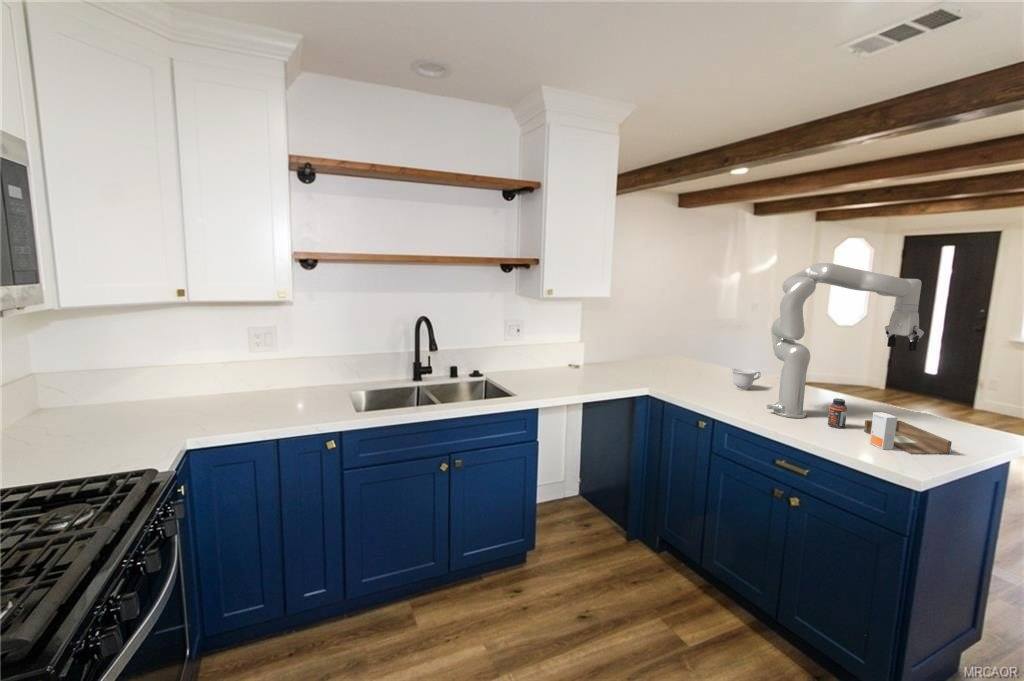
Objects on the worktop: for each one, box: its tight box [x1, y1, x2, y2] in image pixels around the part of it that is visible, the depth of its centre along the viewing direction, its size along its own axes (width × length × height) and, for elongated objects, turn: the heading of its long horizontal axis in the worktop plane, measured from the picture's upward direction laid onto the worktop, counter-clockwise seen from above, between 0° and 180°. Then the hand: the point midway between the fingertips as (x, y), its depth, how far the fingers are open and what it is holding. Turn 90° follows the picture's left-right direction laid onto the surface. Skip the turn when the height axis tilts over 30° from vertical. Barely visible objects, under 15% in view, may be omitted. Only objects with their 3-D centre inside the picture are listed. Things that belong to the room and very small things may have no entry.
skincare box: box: [869, 411, 898, 450], centre depth 173 cm, size 6×4×12 cm
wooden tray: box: [863, 419, 953, 455], centre depth 178 cm, size 14×23×5 cm, turn 179°
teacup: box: [731, 367, 762, 391], centre depth 254 cm, size 12×15×10 cm
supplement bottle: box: [827, 398, 848, 429], centre depth 195 cm, size 6×6×11 cm
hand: (901, 348), depth 204 cm, fingers open, 9 cm apart
